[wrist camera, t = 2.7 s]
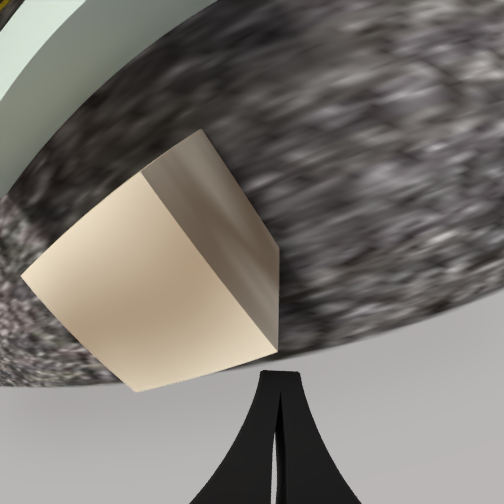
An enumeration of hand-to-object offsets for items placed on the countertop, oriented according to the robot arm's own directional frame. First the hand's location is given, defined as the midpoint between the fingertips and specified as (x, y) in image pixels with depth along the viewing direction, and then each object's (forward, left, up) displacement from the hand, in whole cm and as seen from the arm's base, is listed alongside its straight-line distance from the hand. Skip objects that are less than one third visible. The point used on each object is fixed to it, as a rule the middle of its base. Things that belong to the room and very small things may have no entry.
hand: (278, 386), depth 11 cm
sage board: (+6, -11, -2) cm, 12 cm away
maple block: (+3, -6, -2) cm, 7 cm away
